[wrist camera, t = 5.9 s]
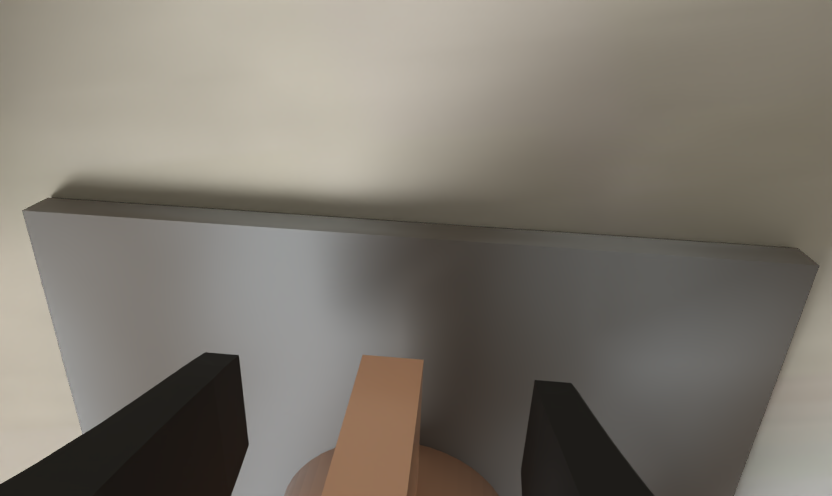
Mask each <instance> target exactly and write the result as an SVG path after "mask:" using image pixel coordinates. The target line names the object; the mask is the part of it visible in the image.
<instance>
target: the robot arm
mask: <svg viewBox="0 0 832 496" xmlns="http://www.w3.org/2000/svg"><path fill="white" fill-rule="evenodd" d="M248 446H249V441H248V432H247V423H246V414H245V405H244V396H243V387H242V378H241V369H240V360H239V355H232V354H220V353H208V352H205V353H203V354H202V355H200V356H198V357H197V358H195V359H194V360H192V361H191V362H189V363H188V364H186V365H185V366H183V367H182V368H180V369H179V370H177V371H176V372H174V373H173V374H172V375H170V376H169V377H167V378H166V379H164V380H163V381H162V382H160V383H159V384H157V385H156V386H154V387H153V388H151V389H150V390H149V391H147V392H146V393H144V394H143V395H141V396H140V397H138V398H137V399H135V400H134V401H132V402H131V403H129V404H128V405H127V406H125V407H124V408H122V409H121V410H119V411H118V412H116V413H115V414H113V415H112V416H110V417H109V418H107V419H106V420H104V421H103V422H101V423H100V424H98V425H97V426H95V427H94V428H92V429H90V430H89V431H87V432H86V433H84V434H82V435H81V436H79V437H78V438H76V439H74V440H73V441H71V442H70V443H68V444H66V445H65V446H63V447H62V448H60V449H58V450H57V451H55V452H54V453H52V454H51V455H49V456H47V457H46V458H44V459H43V460H41V461H39V462H38V463H36V464H35V465H33V466H31V467H29V468H28V469H26V470H24V471H23V472H21V473H19V474H17V475H16V476H14V477H12V478H10V479H9V480H7V481H5V482H3V483H2V484H0V496H231V494H232V492H233V489H234V486H235V484H236V481H237V478H238V475H239V473H240V470H241V467H242V464H243V461H244V458H245V455H246V452H247V449H248ZM521 486H522V496H655V495H654V494H653V493H652V492H651V491H650V489H649V488H648V487H647V486H646V484H645V483H644V482H643V480H642V479H641V478H640V477H639V475H638V474H637V473H636V471H635V470H634V469H633V468H632V466H631V465H630V464H629V462H628V461H627V460H626V459H625V457H624V456H623V455H622V453H621V452H620V450H619V449H618V448H617V446H616V445H615V444H614V442H613V441H612V440H611V438H610V437H609V435H608V434H607V433H606V431H605V430H604V428H603V427H602V426H601V424H600V423H599V421H598V420H597V418H596V417H595V416H594V414H593V413H592V411H591V410H590V408H589V407H588V405H587V404H586V402H585V401H584V399H583V398H582V397H581V395H580V394H579V392H578V391H577V389H576V388H575V387H574V386H573V384H572V383H566V382H554V381H542V380H535V381H534V387H533V394H532V400H531V407H530V413H529V420H528V426H527V433H526V440H525V446H524V453H523V459H522V466H521Z"/></svg>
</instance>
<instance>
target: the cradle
mask: <svg viewBox="0 0 832 496" xmlns="http://www.w3.org/2000/svg"><path fill="white" fill-rule="evenodd" d="M22 211H23V215H24V219H25V222H26V226H27V230H28V233H29V237H30V241H31V245H32V248H33V252H34V256H35V259H36V263H37V267H38V271H39V274H40V278H41V282H42V285H43V289H44V293H45V297H46V300H47V304H48V308H49V311H50V315H51V319H52V323H53V326H54V330H55V334H56V337H57V341H58V345H59V349H60V352H61V356H62V360H63V363H64V367H65V371H66V375H67V378H68V382H69V386H70V389H71V393H72V397H73V401H74V404H75V408H76V412H77V415H78V419H79V423H80V427H81V430H82V434H84V433H86V432H87V431H89V430H90V429H92V428H94V427H95V426H97V425H98V424H100V423H101V422H103V421H104V420H106V419H107V418H109V417H110V416H112V415H113V414H115V413H116V412H118V411H119V410H121V409H122V408H124V407H125V406H127V405H128V404H129V403H131V402H132V401H134V400H135V399H137V398H138V397H140V396H141V395H143V394H144V393H146V392H147V391H149V390H150V389H151V388H153V387H154V386H156V385H157V384H159V383H160V382H162V381H163V380H164V379H166V378H167V377H169V376H170V375H172V374H173V373H174V372H176V371H177V370H179V369H180V368H182V367H183V366H185V365H186V364H188V363H189V362H191V361H192V360H194V359H195V358H197V357H198V356H200V355H202V354H203V353H205V352H208V353H220V354H232V355H239V360H240V369H241V378H242V387H243V396H244V405H245V414H246V423H247V432H248V441H249V446H248V449H247V452H246V455H245V458H244V461H243V464H242V467H241V470H240V473H239V475H238V478H237V481H236V484H235V486H234V489H233V492H232V494H231V496H284V494H285V491H286V489H287V486H288V485H289V483H290V481H291V480H292V478H293V477H294V476H295V474H296V473H297V472H298V471H299V470H300V469H301V468H302V467H303V466H304V465H306V464H307V463H308V462H309V461H310V460H312V459H314V458H315V457H317V456H319V455H320V454H322V453H324V452H327V451H329V450H331V449H334V448H335V447H336V444H337V441H338V437H339V434H340V430H341V427H342V423H343V420H344V417H345V413H346V410H347V406H348V403H349V400H350V396H351V393H352V389H353V386H354V383H355V379H356V376H357V372H358V369H359V365H360V362H361V359H362V355H372V356H384V357H396V358H408V359H420V360H424V365H423V384H422V403H421V422H420V441H419V445H422V446H426V447H430V448H433V449H436V450H438V451H441V452H444V453H446V454H448V455H450V456H452V457H454V458H456V459H458V460H460V461H462V462H463V463H465V464H466V465H468V466H470V467H471V468H472V469H474V470H475V471H476V472H477V473H479V474H480V475H481V476H482V477H483V478H484V479H485V480H486V481H487V482H488V483H489V484H490V485H491V486H492V487H493V488H494V490H495V491H496V493H497V494H498V495H499V496H522V486H521V466H522V459H523V453H524V446H525V440H526V433H527V426H528V420H529V413H530V407H531V400H532V394H533V387H534V381H535V380H542V381H554V382H566V383H572V384H573V386H574V387H575V388H576V389H577V391H578V392H579V394H580V395H581V397H582V398H583V399H584V401H585V402H586V404H587V405H588V407H589V408H590V410H591V411H592V413H593V414H594V416H595V417H596V418H597V420H598V421H599V423H600V424H601V426H602V427H603V428H604V430H605V431H606V433H607V434H608V435H609V437H610V438H611V440H612V441H613V442H614V444H615V445H616V446H617V448H618V449H619V450H620V452H621V453H622V455H623V456H624V457H625V459H626V460H627V461H628V462H629V464H630V465H631V466H632V468H633V469H634V470H635V471H636V473H637V474H638V475H639V477H640V478H641V479H642V480H643V482H644V483H645V484H646V486H647V487H648V488H649V489H650V491H651V492H652V493H653V494H654V495H655V496H734V493H735V491H736V488H737V485H738V483H739V480H740V477H741V475H742V472H743V469H744V467H745V464H746V461H747V459H748V456H749V453H750V450H751V448H752V445H753V442H754V440H755V437H756V434H757V432H758V429H759V426H760V424H761V421H762V418H763V416H764V413H765V410H766V408H767V405H768V402H769V399H770V397H771V394H772V391H773V389H774V386H775V383H776V381H777V378H778V375H779V373H780V370H781V367H782V365H783V362H784V359H785V357H786V354H787V351H788V348H789V346H790V343H791V340H792V338H793V335H794V332H795V330H796V327H797V324H798V322H799V319H800V316H801V314H802V311H803V308H804V306H805V303H806V300H807V298H808V295H809V292H810V289H811V287H812V284H813V281H814V279H815V276H816V273H817V271H818V268H819V265H818V264H817V263H815V262H814V261H813V260H812V259H810V258H809V257H808V256H807V255H805V254H804V253H803V252H802V251H800V250H799V249H798V248H786V247H771V246H756V245H741V244H727V243H712V242H697V241H682V240H667V239H652V238H638V237H623V236H608V235H593V234H578V233H564V232H549V231H534V230H519V229H504V228H489V227H475V226H460V225H445V224H430V223H415V222H400V221H386V220H371V219H356V218H341V217H326V216H311V215H297V214H282V213H267V212H252V211H237V210H222V209H208V208H193V207H178V206H163V205H148V204H133V203H119V202H104V201H89V200H74V199H59V198H47V199H45V200H43V201H41V202H39V203H36V204H34V205H32V206H30V207H28V208H26V209H24V210H22Z"/></svg>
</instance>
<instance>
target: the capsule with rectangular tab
mask: <svg viewBox="0 0 832 496" xmlns="http://www.w3.org/2000/svg"><path fill="white" fill-rule="evenodd" d="M423 365H424V360H420V359H408V358H396V357H384V356H372V355H362V359H361V362H360V365H359V369H358V372H357V376H356V379H355V383H354V386H353V389H352V393H351V396H350V400H349V403H348V406H347V410H346V413H345V417H344V420H343V423H342V427H341V430H340V434H339V437H338V441H337V444H336V447H335V448H334V449H331V450H329V451H327V452H324V453H322V454H320V455H319V456H317V457H315V458H314V459H312V460H310V461H309V462H308V463H307V464H306V465H304V466H303V467H302V468H301V469H300V470H299V471H298V472H297V473H296V474H295V476H294V477H293V478H292V480H291V481H290V483H289V485H288V486H287V489H286V491H285V494H284V496H499V495H498V494H497V493H496V491H495V490H494V488H493V487H492V486H491V485H490V484H489V483H488V482H487V481H486V480H485V479H484V478H483V477H482V476H481V475H480V474H479V473H477V472H476V471H475V470H474V469H472V468H471V467H470V466H468V465H466V464H465V463H463V462H462V461H460V460H458V459H456V458H454V457H452V456H450V455H448V454H446V453H444V452H441V451H438V450H436V449H433V448H430V447H426V446H422V445H419V441H420V422H421V403H422V384H423Z"/></svg>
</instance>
